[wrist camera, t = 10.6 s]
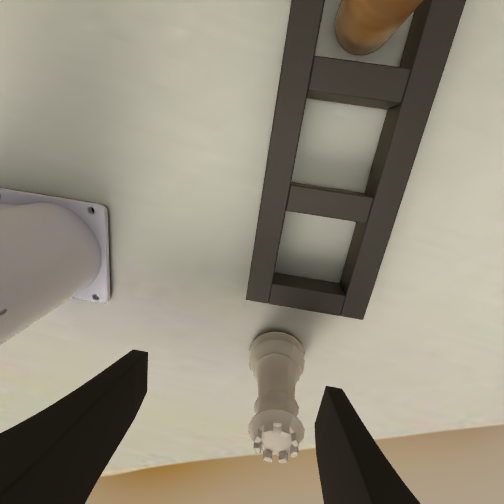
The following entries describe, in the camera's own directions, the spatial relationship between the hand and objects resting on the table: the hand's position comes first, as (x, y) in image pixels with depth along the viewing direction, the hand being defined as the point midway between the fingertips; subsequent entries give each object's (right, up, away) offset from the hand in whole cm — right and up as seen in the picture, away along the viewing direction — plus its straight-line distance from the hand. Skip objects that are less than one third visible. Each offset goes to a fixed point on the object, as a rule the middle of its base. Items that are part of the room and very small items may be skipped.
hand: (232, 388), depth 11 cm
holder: (+6, +12, +6) cm, 15 cm away
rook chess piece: (+3, -3, +12) cm, 12 cm away
